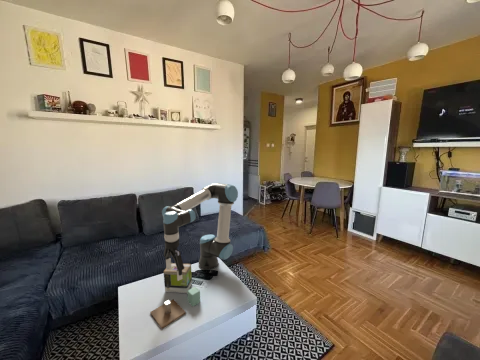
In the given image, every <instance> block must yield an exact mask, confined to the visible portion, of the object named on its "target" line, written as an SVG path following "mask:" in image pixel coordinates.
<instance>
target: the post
mask: <svg viewBox="0 0 480 360" xmlns="http://www.w3.org/2000/svg"><path fill="white" fill-rule="evenodd" d="M170 301H171V300H169V299H168V300H166V301H164V303H163V305H164V309H165V313H166V314H169V313H170V312H171V302H170Z"/></svg>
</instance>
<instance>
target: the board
mask: <svg viewBox="0 0 480 360" xmlns="http://www.w3.org/2000/svg"><path fill="white" fill-rule="evenodd" d="M169 301H170V302H171V312H170V313H169V314H166V313H165V309H164V304H162V305H160V306H158V307H157V308H155V309H153V310H152V311H150V315H151V316H152V317H153V319H154V321H155V322H156V323H157V325H158V326H159V327H160V329H161V330H162V329H164V328H166V327H167V326H169V325H170V324H172V323H173V322H175V321H176V320H178V319H179V318H181V317H183V316H184V315H186V314H187V311H186V310H185V309H183V307H182V306H181V305H180V304H179V303H178V302H177V301H176V300H175V299H174V298H173V299H170V300H169Z"/></svg>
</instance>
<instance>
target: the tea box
mask: <svg viewBox="0 0 480 360" xmlns="http://www.w3.org/2000/svg"><path fill="white" fill-rule="evenodd" d="M183 265H184V269H183V270H182V278H183V279H181V280H179V281H177V271H176V270H177V266H176V264H175V262H174V263H173V262H171V269H169V270H166V268H165V269H164V270H163V281H164V282H163V283H164V292H165V293H167V292H168V293H182V294H183V293H184V294H188V292H187V291H188V290H190V289H191V286H192V285H191V283H192V284H193V277H192V274H193V273H192V264H191V263H183Z"/></svg>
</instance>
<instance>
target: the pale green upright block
mask: <svg viewBox="0 0 480 360" xmlns="http://www.w3.org/2000/svg"><path fill="white" fill-rule="evenodd" d="M187 292H188V293H187V303H188V304H190V306H192V307H194V306H196V305H197V304H199V303H201V291H200V289H198V287H196V286H194V287H192V288H191V287H190V289H189V290H188V291H187Z"/></svg>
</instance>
